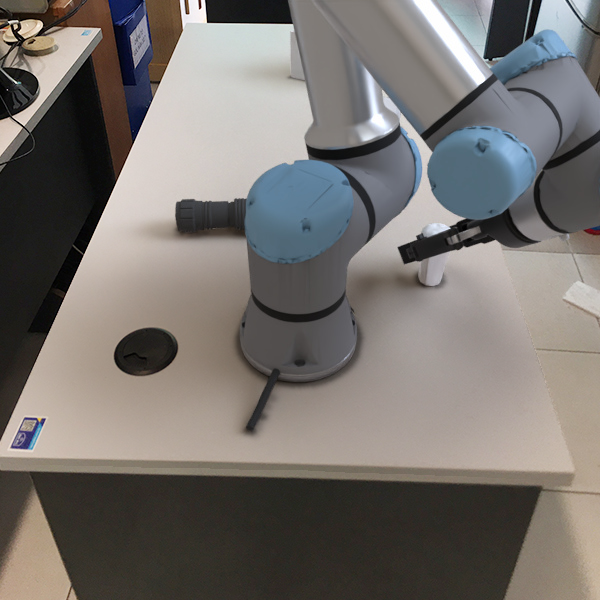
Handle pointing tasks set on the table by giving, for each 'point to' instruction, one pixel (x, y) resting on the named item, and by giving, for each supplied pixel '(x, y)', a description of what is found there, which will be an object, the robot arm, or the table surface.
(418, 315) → the table surface
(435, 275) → the milkshake
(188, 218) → the flashlight
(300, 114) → the table surface
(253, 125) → the table surface
